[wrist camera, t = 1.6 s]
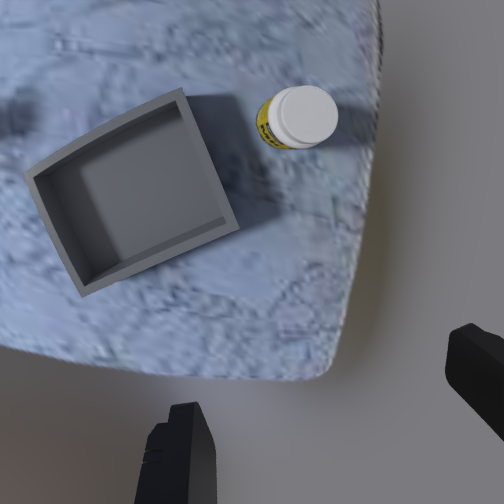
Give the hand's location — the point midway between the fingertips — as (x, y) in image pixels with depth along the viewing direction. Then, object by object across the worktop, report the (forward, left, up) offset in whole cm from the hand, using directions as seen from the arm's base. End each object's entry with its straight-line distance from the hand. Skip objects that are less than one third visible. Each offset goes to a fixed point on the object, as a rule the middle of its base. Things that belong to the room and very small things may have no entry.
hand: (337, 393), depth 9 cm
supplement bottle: (-7, +6, -22) cm, 25 cm away
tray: (-7, -8, -22) cm, 25 cm away
